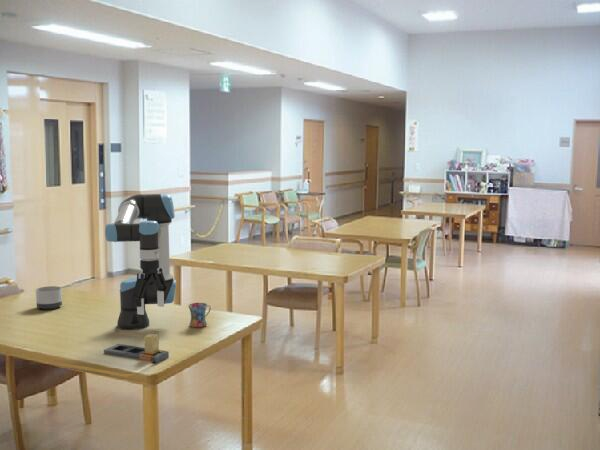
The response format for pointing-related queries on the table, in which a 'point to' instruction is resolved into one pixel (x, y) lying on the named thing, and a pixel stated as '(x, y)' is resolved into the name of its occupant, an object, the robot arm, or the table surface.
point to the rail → (136, 353)
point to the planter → (49, 297)
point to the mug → (198, 314)
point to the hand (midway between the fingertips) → (150, 310)
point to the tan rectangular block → (152, 344)
